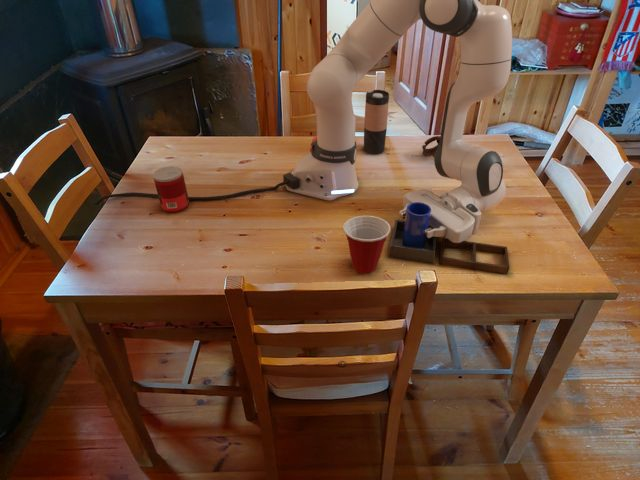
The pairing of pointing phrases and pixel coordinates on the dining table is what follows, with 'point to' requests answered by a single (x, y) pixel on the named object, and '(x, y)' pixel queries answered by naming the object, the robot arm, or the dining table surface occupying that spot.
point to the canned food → (171, 189)
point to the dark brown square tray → (410, 252)
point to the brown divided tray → (473, 263)
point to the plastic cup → (366, 241)
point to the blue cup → (416, 225)
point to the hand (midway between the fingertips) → (413, 224)
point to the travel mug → (375, 121)
